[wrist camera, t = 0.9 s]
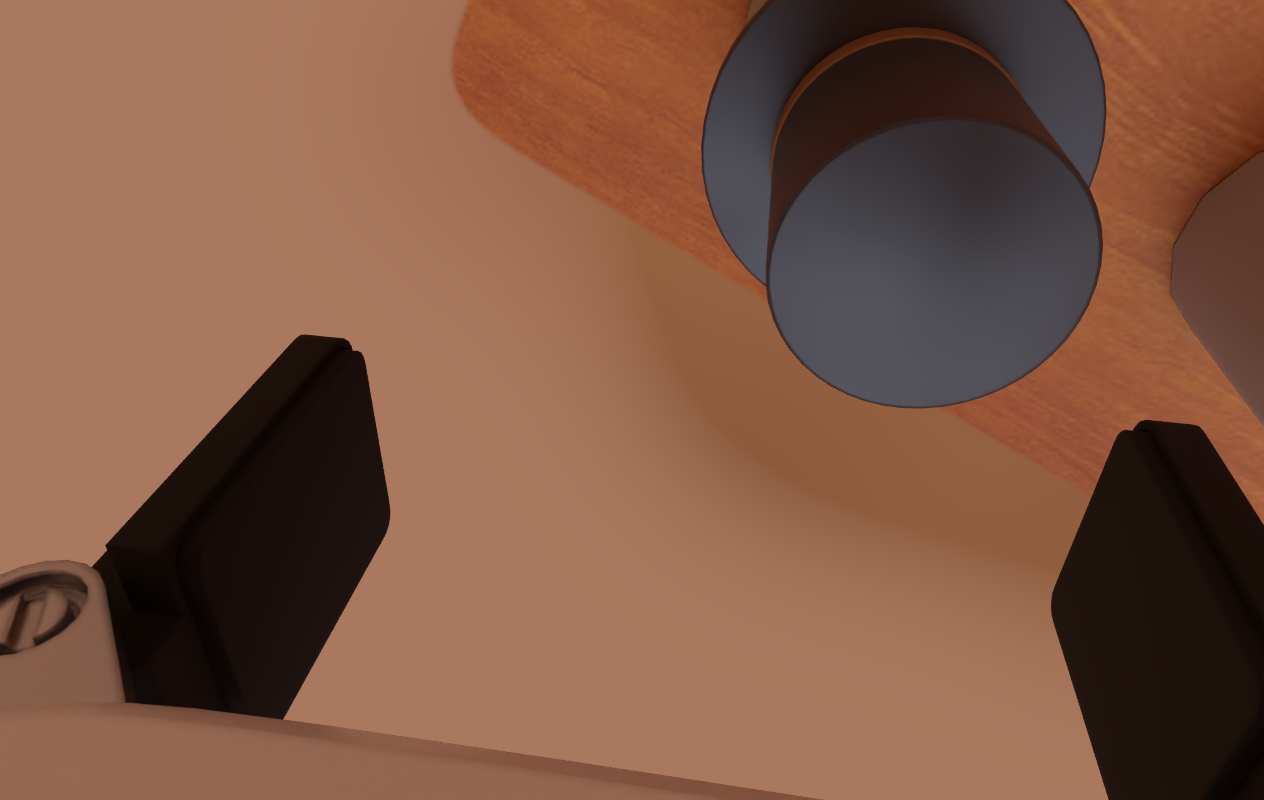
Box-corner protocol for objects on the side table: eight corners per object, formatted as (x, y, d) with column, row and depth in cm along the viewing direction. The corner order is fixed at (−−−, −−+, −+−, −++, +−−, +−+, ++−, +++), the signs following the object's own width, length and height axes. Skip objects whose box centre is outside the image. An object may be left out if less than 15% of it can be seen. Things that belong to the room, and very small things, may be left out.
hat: (647, 32, 19) (588, 123, 14) (1064, -143, 16) (1196, -115, 11) (769, 351, 23) (761, 520, 18) (1123, 254, 20) (1241, 420, 15)
